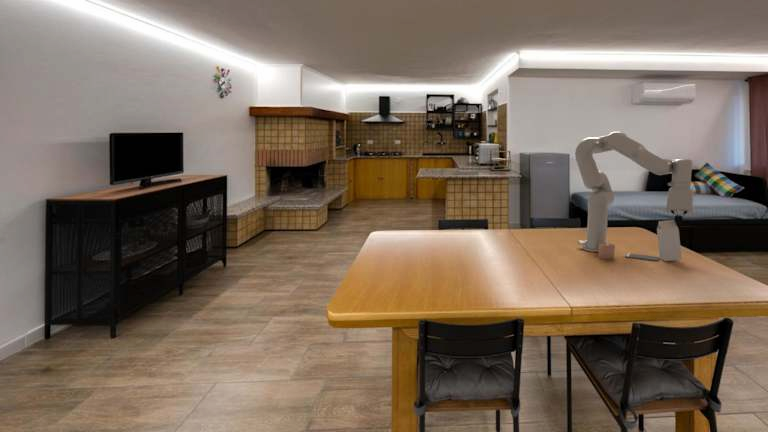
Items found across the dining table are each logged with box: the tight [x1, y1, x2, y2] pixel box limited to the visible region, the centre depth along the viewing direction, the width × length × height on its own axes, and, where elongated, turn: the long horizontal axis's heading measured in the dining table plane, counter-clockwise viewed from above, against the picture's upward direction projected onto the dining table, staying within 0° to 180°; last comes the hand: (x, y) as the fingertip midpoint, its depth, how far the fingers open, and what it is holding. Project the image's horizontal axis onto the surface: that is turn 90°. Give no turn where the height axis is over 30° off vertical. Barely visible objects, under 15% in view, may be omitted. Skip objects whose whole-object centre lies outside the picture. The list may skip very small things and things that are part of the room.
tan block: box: [597, 242, 616, 261], centre depth 223 cm, size 7×7×7 cm
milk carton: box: [656, 219, 683, 262], centre depth 217 cm, size 7×7×19 cm
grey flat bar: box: [624, 252, 660, 262], centre depth 224 cm, size 14×8×1 cm, turn 54°
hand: (678, 223), depth 214 cm, fingers closed
